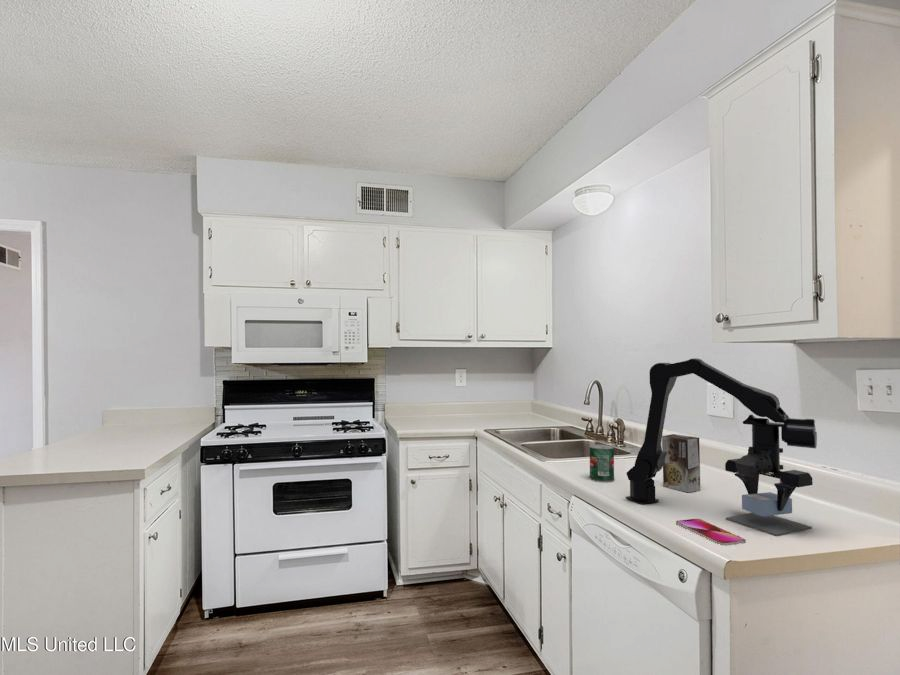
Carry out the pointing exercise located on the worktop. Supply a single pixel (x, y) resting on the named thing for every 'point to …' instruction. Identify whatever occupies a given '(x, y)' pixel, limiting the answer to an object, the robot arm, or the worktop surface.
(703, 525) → the smartphone
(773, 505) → the card box
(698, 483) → the coffee box
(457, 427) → the worktop surface
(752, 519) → the mat
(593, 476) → the canned tomato
